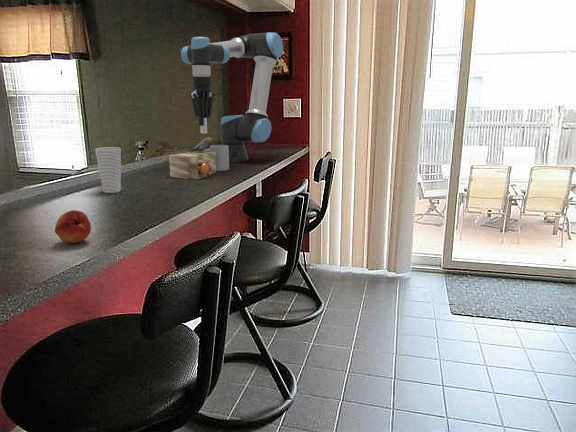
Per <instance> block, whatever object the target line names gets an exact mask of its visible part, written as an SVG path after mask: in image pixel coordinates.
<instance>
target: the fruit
mask: <svg viewBox="0 0 576 432" xmlns="http://www.w3.org/2000/svg"><path fill="white" fill-rule="evenodd" d="M91 230H92V225H91V222H90V219H89V217H88V215H86V213H84V212H83V211H80V210H75V209H73V210H68V211H66V212H64V213H63V214H61V215H60V216H59V217H58V219H57V221H56V223H55V227H54V233H55V234H56V235H57V237H58V238H59V239H60V240H61V241H62V242H65V243H68V244H77V242H78V243H80V242H83V241H84V240H86V239H87V238H88V237H89V235H90V234H91V232H92V231H91Z"/></svg>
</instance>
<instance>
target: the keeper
mask: <svg viewBox="0 0 576 432" xmlns="http://www.w3.org/2000/svg"><path fill="white" fill-rule="evenodd" d="M212 140H213V138H212V137H209V136H207V137H205V138H203V139H202V140H200V142H198V143H197V144H196V145H195V146H194V147H192V148H191V149H192V151H193V152H195V151H200V150H201V149H202V150H203V148H204V147H206V146H207V145H208V144H209V143H210V142H211V141H212Z"/></svg>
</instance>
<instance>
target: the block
mask: <svg viewBox="0 0 576 432" xmlns="http://www.w3.org/2000/svg"><path fill="white" fill-rule="evenodd" d="M192 149H193V148H188V152H183V153H182V152H181V153H176V154H170V155H168V159H169V160H168V162H169V175H170V176H169V177H171V178H177V179H179V178H180V179H185V180H188V179H195V180H198V179H199V180H200V179H204V178H207V175H203V174H201V173H200V171H198V165H201V164H202V163H208V164H210V166H211V171H210V173H209V174H208V175H212V174H216V173H217V171H216V153H215V152H204V151H205V150H203V148H202V149H201V150H200V151H195V152H193V151H192Z"/></svg>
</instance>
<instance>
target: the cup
mask: <svg viewBox="0 0 576 432" xmlns="http://www.w3.org/2000/svg"><path fill="white" fill-rule="evenodd" d="M94 151H95V155H96V162H97V167H98V173H99V178H100V182H101V187H102V188H101V189H102V191H103V193H105V194H113V193H119V192H121V191H122V185H121V183H122V177H121V176H122V175H121V174H122V173H121V172H122V168H121V167H122V162H121V161H122V159H121V158H122V157H121V156H122V154H121V153H122V152H121V151H122V149H121V147H117V146H106V147H96V148H95V149H94Z"/></svg>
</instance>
